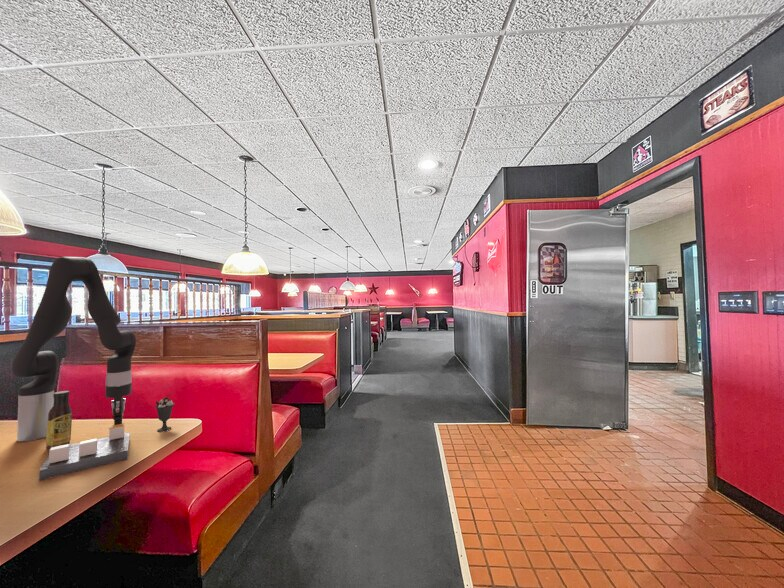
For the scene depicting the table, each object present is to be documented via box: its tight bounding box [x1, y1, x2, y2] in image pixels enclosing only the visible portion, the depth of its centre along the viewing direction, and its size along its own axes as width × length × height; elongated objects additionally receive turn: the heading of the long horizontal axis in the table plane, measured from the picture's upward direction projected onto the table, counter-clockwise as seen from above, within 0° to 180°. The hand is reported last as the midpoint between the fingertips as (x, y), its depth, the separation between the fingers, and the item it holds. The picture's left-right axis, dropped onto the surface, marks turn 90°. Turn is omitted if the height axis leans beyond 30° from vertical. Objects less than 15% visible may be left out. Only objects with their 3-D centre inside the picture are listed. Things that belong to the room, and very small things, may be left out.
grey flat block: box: [38, 432, 131, 481], centre depth 105 cm, size 18×20×3 cm
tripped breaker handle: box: [108, 422, 126, 440], centre depth 113 cm, size 2×4×4 cm, turn 129°
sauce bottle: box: [45, 390, 73, 451], centre depth 113 cm, size 7×6×20 cm
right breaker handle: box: [48, 443, 71, 463], centre depth 97 cm, size 2×4×4 cm, turn 128°
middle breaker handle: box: [79, 438, 98, 457], centre depth 102 cm, size 2×4×4 cm, turn 129°
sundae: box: [154, 394, 175, 433], centre depth 129 cm, size 7×7×15 cm
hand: (118, 428), depth 118 cm, fingers closed
